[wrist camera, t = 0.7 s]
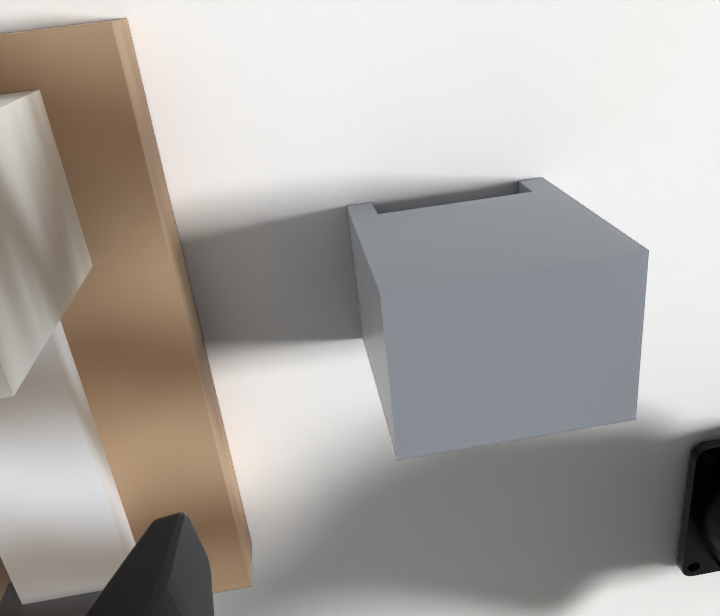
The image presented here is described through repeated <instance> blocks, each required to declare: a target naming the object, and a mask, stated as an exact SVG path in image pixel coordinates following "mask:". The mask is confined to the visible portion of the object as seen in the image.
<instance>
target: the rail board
mask: <svg viewBox="0 0 720 616" xmlns="http://www.w3.org/2000/svg"><path fill="white" fill-rule="evenodd" d="M178 512H183V513H186V514H187V515H188V517H189V518H190V520H191V522H192V524H193V526H194V528H195V530H196V532H197V534H198V536H199V539H200V541H201V543H202V545H203V547H204V549H205V551H206V554H207V556H208V559H209V563H210V568H211V578H212V593H218V592H223V591H229V590H234V589H240V588H246V587H251V559H252V543H251V538H250V534H249V530H248V526H247V522H246V517H245V513H244V509H243V505H242V501H241V496H240V492H239V488H238V484H237V480H236V475H235V471H234V467H233V463H232V458H231V454H230V450H229V446H228V442H227V437H226V433H225V429H224V425H223V421H222V416H221V412H220V408H219V404H218V400H217V395H216V391H215V387H214V383H213V378H212V374H211V370H210V366H209V362H208V357H207V353H206V349H205V345H204V341H203V336H202V332H201V328H200V324H199V319H198V315H197V311H196V307H195V303H194V298H193V294H192V290H191V286H190V282H189V277H188V273H187V269H186V265H185V261H184V256H183V252H182V248H181V244H180V239H179V235H178V231H177V227H176V223H175V218H174V214H173V210H172V206H171V202H170V197H169V193H168V189H167V185H166V180H165V176H164V172H163V168H162V164H161V159H160V155H159V151H158V147H157V143H156V138H155V134H154V130H153V126H152V122H151V117H150V113H149V109H148V105H147V100H146V96H145V92H144V88H143V84H142V79H141V75H140V71H139V67H138V63H137V58H136V54H135V50H134V46H133V42H132V37H131V33H130V29H129V25H128V20H127V18H123V19H115V20H107V21H99V22H91V23H82V24H74V25H66V26H58V27H50V28H42V29H34V30H26V31H18V32H9V33H1V34H0V616H84V615H85V613H86V612H87V611H88V609H89V608H90V606H91V605H92V604H93V602H94V601H95V600H96V598H97V597H98V595H99V594H100V593H101V591H102V590H103V589H104V587H105V586H106V584H107V583H108V582H109V580H110V579H111V577H112V576H113V575H114V573H115V572H116V571H117V569H118V568H119V566H120V565H121V564H122V562H123V561H124V560H125V558H126V557H127V555H128V554H129V553H130V551H131V550H132V549H133V547H134V546H135V544H136V543H137V542H138V540H139V539H140V538H141V536H142V535H143V533H144V532H145V531H146V529H147V528H148V526H149V525H150V524H151V523H152V522H153V521H154V520H155V519H158V518H161V517H164V516H168V515H171V514H175V513H178Z"/></svg>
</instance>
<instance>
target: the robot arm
mask: <svg viewBox="0 0 720 616" xmlns="http://www.w3.org/2000/svg"><path fill="white" fill-rule="evenodd" d="M706 455H707V456H706ZM705 456H706V457H705ZM677 565H678V567H679V568H680V570H681V571H682V572H683V573H684V575H687V576H695V575H700V574H706V573H711V572H716V571H720V439H719V440H713V441H707V442H703V443H700V444H698V445H697V446H695V447H694V448H693V450H692V451H691V454H690V460H689V468H688V476H687V484H686V492H685V500H684V508H683V516H682V524H681V532H680V541H679V549H678V557H677ZM84 616H214V607H213V593H212V578H211V568H210V563H209V559H208V556H207V554H206V551H205V549H204V547H203V545H202V543H201V541H200V539H199V536H198V534H197V532H196V530H195V528H194V526H193V524H192V522H191V520H190V518H189V517H188V515H187V514H186V513H183V512H178V513H175V514H171V515H168V516H164V517H161V518H158V519H155V520H154V521H153V522H152V523H151V524H150V525H149V526H148V528H147V529H146V531H145V532H144V533H143V535H142V536H141V538H140V539H139V540H138V542H137V543H136V544H135V546H134V547H133V549H132V550H131V551H130V553H129V554H128V555H127V557H126V558H125V560H124V561H123V562H122V564H121V565H120V566H119V568H118V569H117V571H116V572H115V573H114V575H113V576H112V577H111V579H110V580H109V582H108V583H107V584H106V586H105V587H104V589H103V590H102V591H101V593H100V594H99V595H98V597H97V598H96V600H95V601H94V602H93V604H92V605H91V606H90V608H89V609H88V611H87V612H86V613H85V615H84Z"/></svg>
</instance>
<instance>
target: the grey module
mask: <svg viewBox="0 0 720 616" xmlns="http://www.w3.org/2000/svg"><path fill="white" fill-rule="evenodd" d="M347 212H348V221H349V229H350V237H351V245H352V253H353V262H354V270H355V278H356V286H357V294H358V302H359V311H360V319H361V327H362V335H363V341H364V344H365V348H366V351H367V355H368V358H369V362H370V365H371V369H372V372H373V376H374V379H375V383H376V386H377V390H378V393H379V397H380V400H381V404H382V407H383V411H384V414H385V418H386V422H387V425H388V429H389V432H390V436H391V439H392V443H393V446H394V450H395V453H396V457H397V460H402V459H408V458H414V457H420V456H426V455H431V454H437V453H443V452H449V451H455V450H461V449H467V448H472V447H478V446H484V445H490V444H496V443H502V442H508V441H513V440H519V439H525V438H531V437H537V436H543V435H549V434H554V433H560V432H566V431H572V430H578V429H584V428H590V427H595V426H601V425H607V424H613V423H619V422H625V421H631V420H636V409H637V396H638V383H639V370H640V358H641V345H642V332H643V319H644V307H645V294H646V281H647V269H648V256H649V250H648V249H646V248H645V247H643V246H642V245H640V244H639V243H637V242H636V241H634V240H633V239H632V238H630V237H629V236H627V235H626V234H624V233H623V232H621V231H620V230H618V229H617V228H615V227H614V226H613V225H611V224H610V223H608V222H607V221H605V220H604V219H602V218H601V217H599V216H598V215H597V214H595V213H594V212H592V211H591V210H589V209H588V208H586V207H585V206H583V205H582V204H580V203H579V202H578V201H576V200H575V199H573V198H572V197H570V196H569V195H567V194H566V193H564V192H563V191H561V190H560V189H559V188H557V187H556V186H554V185H553V184H551V183H550V182H548V181H547V180H545V179H544V178H543V177H542V178H535V179H528V180H521V181H518V194H512V195H505V196H499V197H492V198H485V199H478V200H471V201H464V202H457V203H451V204H444V205H437V206H430V207H423V208H416V209H409V210H403V211H396V212H389V213H382V214H377V212H376V210H375V208H374V206H373V204H372V202H369V203H362V204H355V205H348V206H347Z"/></svg>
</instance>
